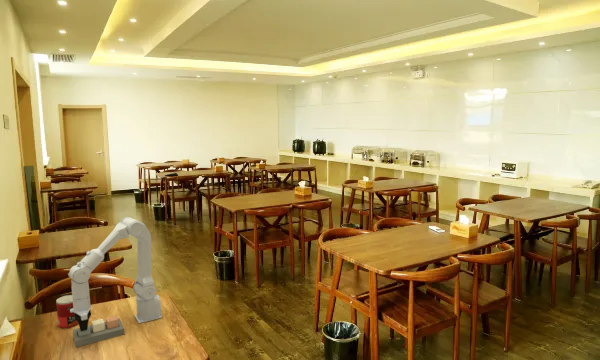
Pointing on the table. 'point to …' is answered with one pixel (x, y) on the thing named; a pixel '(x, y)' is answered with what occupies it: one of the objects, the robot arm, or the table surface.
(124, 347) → the table surface
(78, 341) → the keypad base
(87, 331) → the key slate
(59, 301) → the canned food
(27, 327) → the table surface
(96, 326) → the key ivory
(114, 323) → the key terracotta
